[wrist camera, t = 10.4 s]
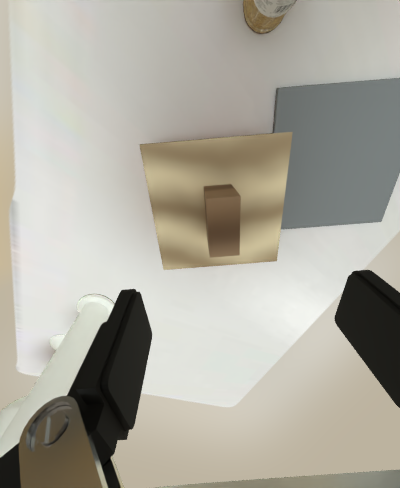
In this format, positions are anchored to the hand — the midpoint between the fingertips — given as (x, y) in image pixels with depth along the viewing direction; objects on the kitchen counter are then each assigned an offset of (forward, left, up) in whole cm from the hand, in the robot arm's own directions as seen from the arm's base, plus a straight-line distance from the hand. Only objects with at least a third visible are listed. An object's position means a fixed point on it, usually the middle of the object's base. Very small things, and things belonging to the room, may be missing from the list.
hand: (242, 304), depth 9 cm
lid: (+1, 0, -17) cm, 16 cm away
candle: (+21, -23, -23) cm, 38 cm away
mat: (-2, +17, -23) cm, 29 cm away
